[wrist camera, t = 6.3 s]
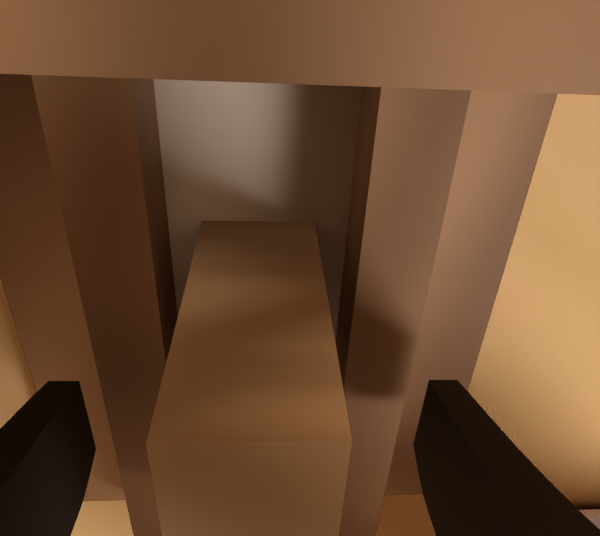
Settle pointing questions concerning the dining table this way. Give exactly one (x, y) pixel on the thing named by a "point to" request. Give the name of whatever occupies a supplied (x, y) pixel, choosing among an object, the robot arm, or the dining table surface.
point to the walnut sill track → (272, 190)
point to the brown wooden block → (252, 391)
